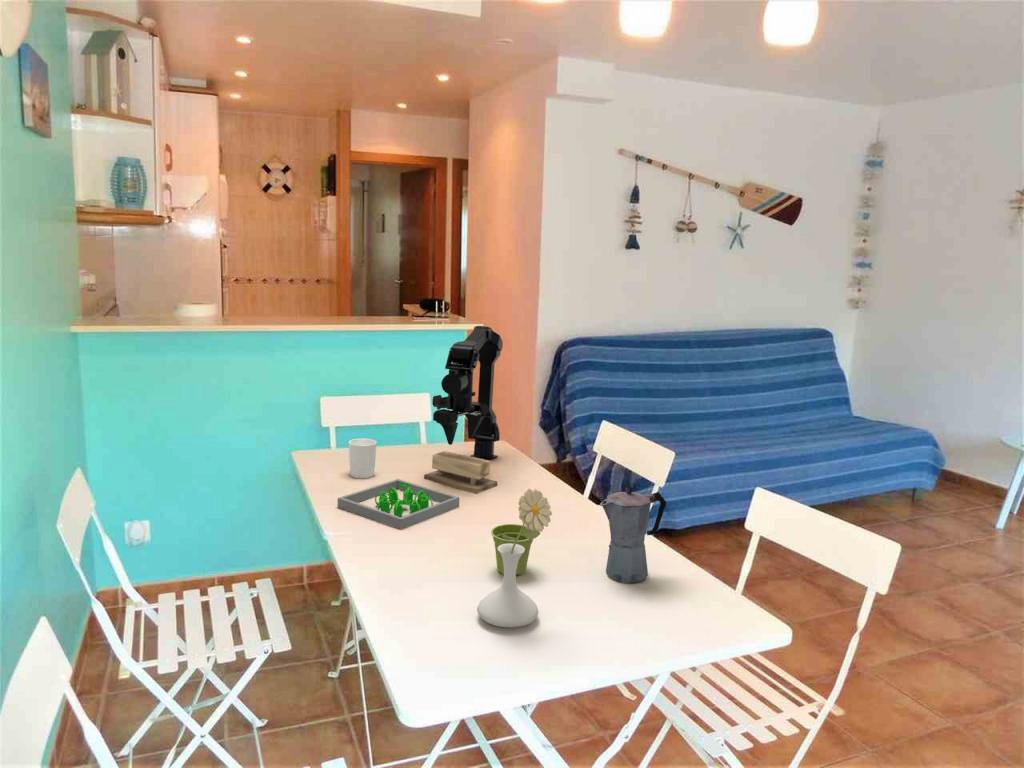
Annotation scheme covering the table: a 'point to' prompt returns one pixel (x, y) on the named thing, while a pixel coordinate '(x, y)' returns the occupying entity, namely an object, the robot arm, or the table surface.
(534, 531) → the flower in vase
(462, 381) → the robot arm
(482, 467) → the beige wooden block
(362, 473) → the white cup
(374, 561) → the table surface
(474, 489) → the peg stand
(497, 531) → the plant pot
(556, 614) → the table surface
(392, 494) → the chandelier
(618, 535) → the moka pot
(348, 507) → the toy tray rim
